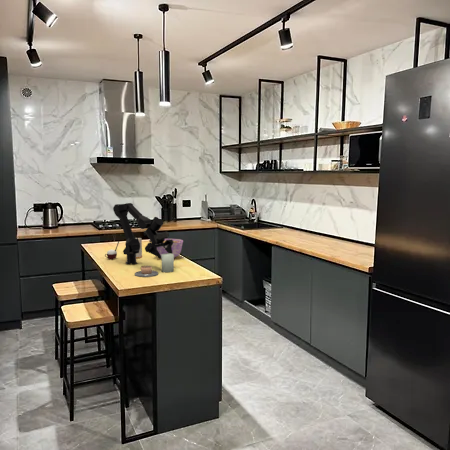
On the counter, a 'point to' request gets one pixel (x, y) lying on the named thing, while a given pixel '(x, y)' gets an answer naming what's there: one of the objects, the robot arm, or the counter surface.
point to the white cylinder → (167, 262)
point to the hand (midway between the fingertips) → (166, 256)
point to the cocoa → (112, 253)
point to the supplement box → (139, 255)
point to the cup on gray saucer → (146, 272)
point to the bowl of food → (175, 247)
